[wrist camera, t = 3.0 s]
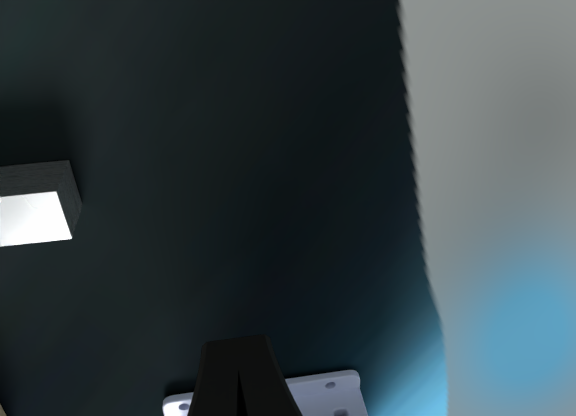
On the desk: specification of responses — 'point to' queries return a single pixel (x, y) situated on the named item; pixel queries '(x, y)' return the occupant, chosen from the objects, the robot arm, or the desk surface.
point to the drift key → (38, 202)
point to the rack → (2, 411)
